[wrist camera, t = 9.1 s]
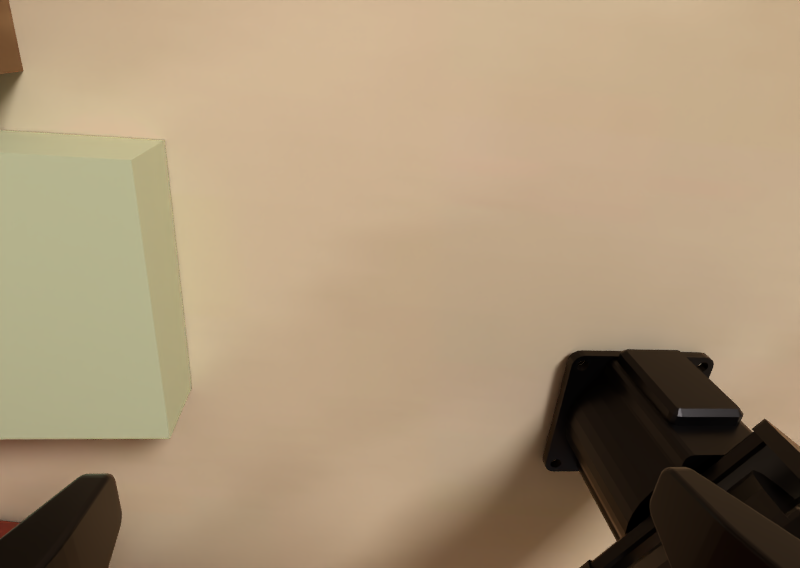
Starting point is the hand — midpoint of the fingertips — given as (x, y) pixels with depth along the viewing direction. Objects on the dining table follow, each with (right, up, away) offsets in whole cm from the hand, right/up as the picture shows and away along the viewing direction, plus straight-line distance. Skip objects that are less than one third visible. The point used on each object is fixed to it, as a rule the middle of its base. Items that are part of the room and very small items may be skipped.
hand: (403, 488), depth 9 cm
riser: (-14, +4, +10) cm, 18 cm away
